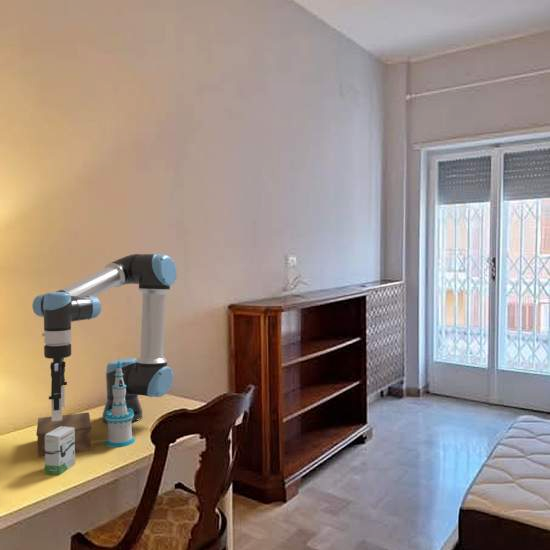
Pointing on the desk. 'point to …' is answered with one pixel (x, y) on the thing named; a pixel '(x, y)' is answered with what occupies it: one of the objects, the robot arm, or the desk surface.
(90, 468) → the desk surface
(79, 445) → the walnut block
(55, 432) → the ink box
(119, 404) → the model tower
